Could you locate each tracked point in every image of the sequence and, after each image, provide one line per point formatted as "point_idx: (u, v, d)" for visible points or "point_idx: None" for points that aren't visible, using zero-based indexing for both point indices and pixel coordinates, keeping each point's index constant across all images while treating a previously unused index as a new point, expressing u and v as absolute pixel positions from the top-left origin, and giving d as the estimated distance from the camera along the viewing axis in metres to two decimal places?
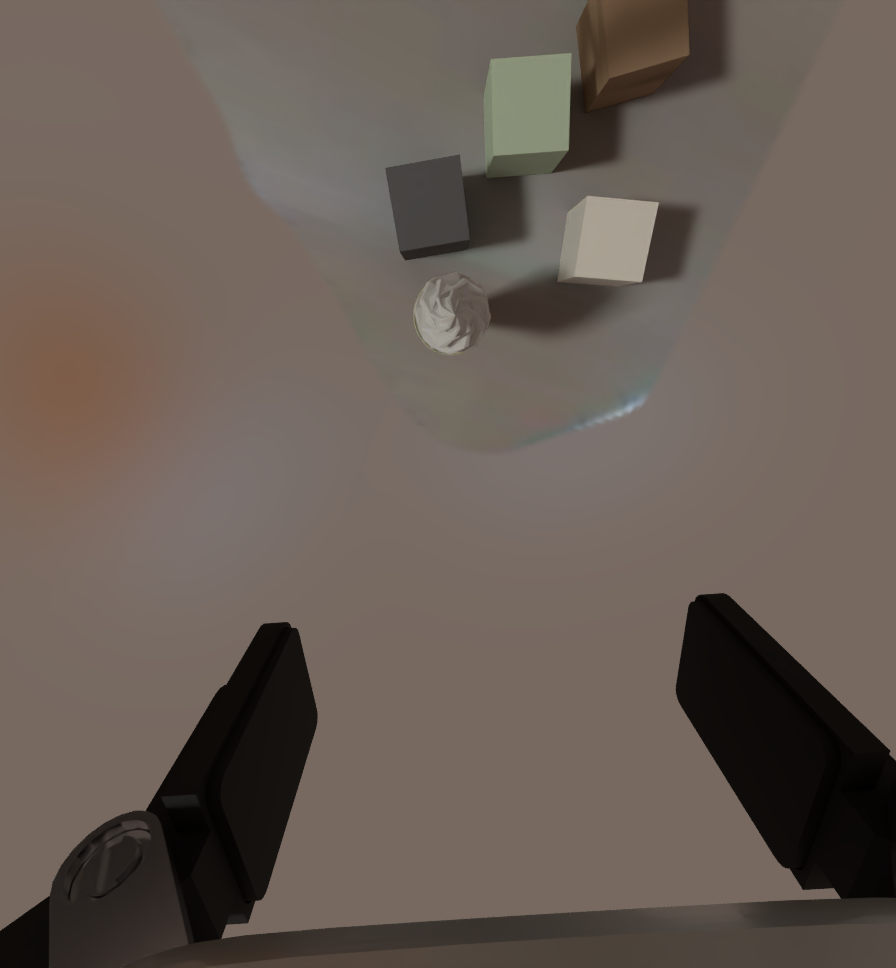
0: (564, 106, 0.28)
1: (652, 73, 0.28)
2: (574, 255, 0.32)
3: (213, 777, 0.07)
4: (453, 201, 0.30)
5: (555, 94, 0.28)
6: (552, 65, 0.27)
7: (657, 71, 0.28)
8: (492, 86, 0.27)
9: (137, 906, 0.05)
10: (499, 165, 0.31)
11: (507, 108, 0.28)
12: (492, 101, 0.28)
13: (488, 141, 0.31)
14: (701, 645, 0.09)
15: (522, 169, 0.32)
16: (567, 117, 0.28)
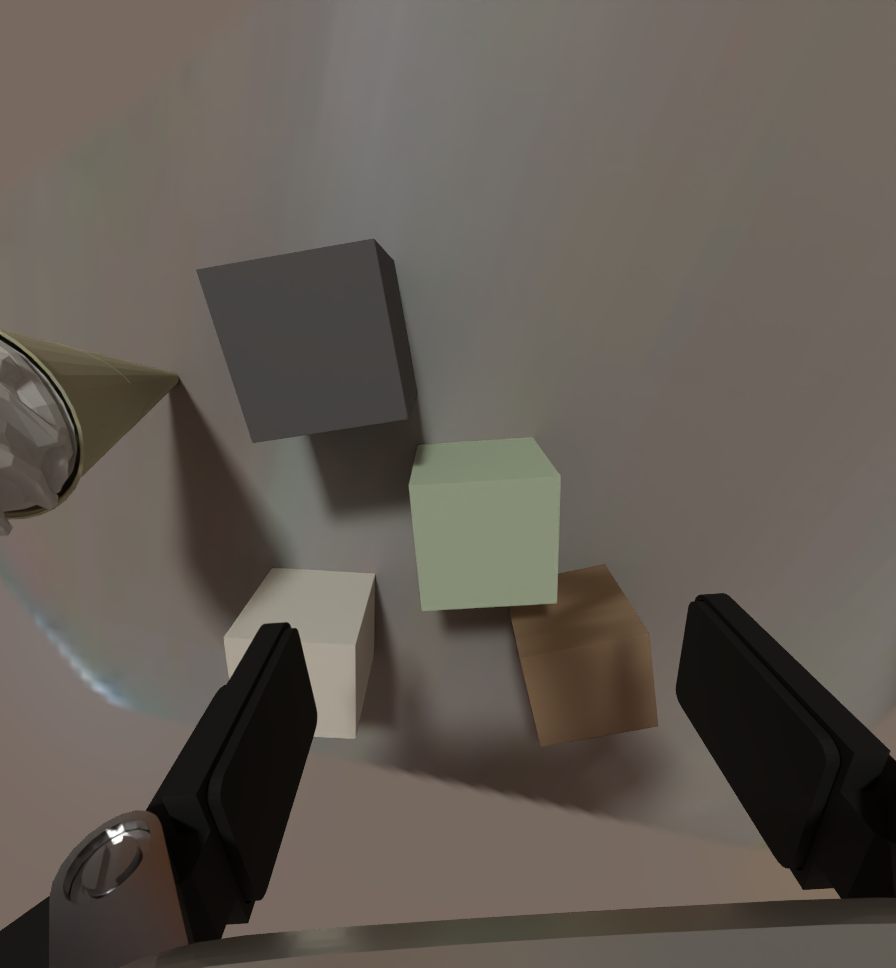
0: (485, 599, 0.16)
1: None
2: None
3: (213, 777, 0.07)
4: (321, 406, 0.13)
5: (501, 584, 0.16)
6: (543, 577, 0.16)
7: None
8: (519, 480, 0.14)
9: (137, 906, 0.05)
10: None
11: (484, 507, 0.15)
12: (496, 480, 0.14)
13: (455, 458, 0.17)
14: (701, 645, 0.09)
15: None
16: (468, 605, 0.16)
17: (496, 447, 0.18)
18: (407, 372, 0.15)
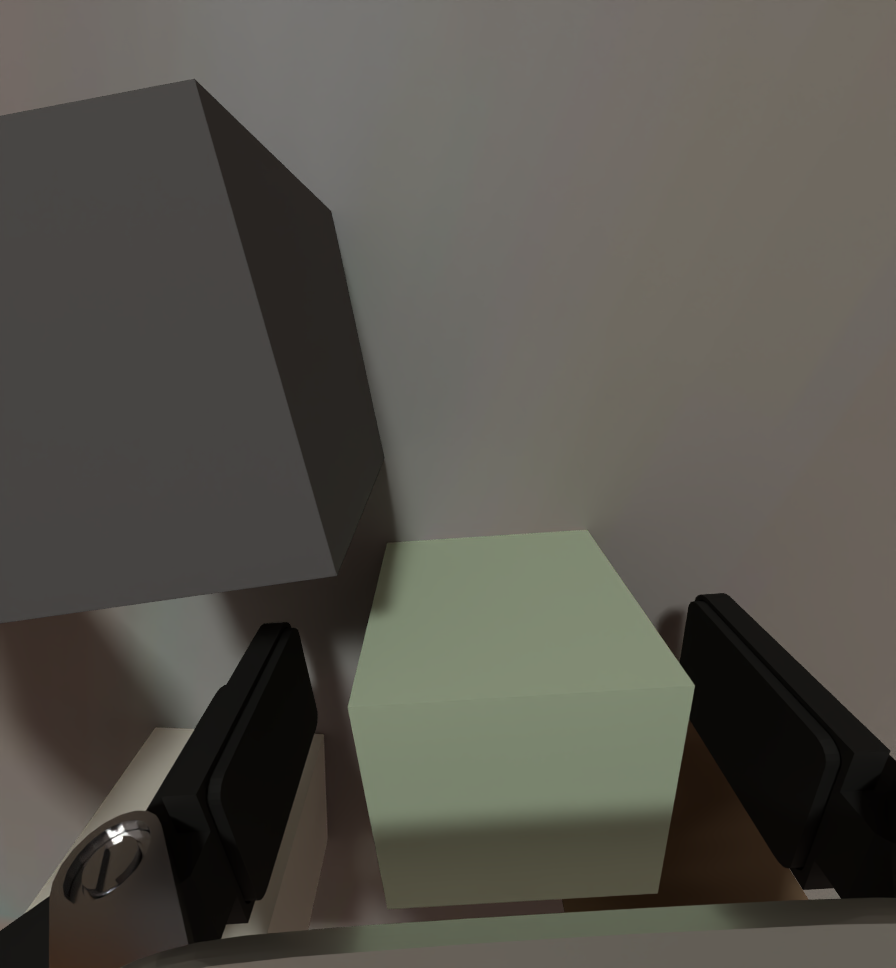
0: (514, 890, 0.08)
1: None
2: None
3: (213, 777, 0.07)
4: (116, 549, 0.05)
5: (549, 868, 0.08)
6: (634, 855, 0.08)
7: None
8: (600, 693, 0.06)
9: (137, 906, 0.05)
10: None
11: (519, 744, 0.07)
12: (548, 692, 0.06)
13: (453, 593, 0.09)
14: (701, 645, 0.09)
15: None
16: (481, 899, 0.08)
17: (527, 558, 0.10)
18: (352, 438, 0.07)
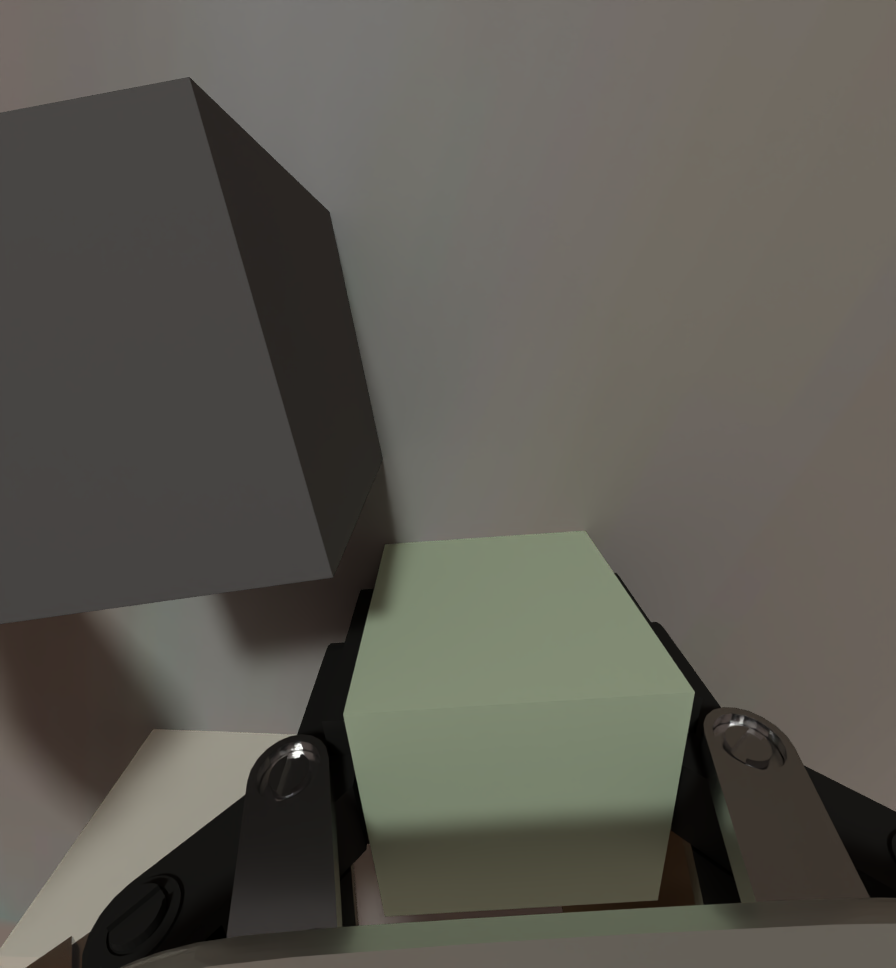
0: (512, 897, 0.08)
1: None
2: (106, 899, 0.09)
3: None
4: (110, 550, 0.05)
5: (548, 875, 0.08)
6: (633, 862, 0.08)
7: None
8: (599, 700, 0.06)
9: (302, 822, 0.06)
10: None
11: (517, 752, 0.07)
12: (546, 699, 0.06)
13: (451, 597, 0.09)
14: None
15: None
16: (479, 906, 0.08)
17: (526, 561, 0.10)
18: (349, 439, 0.07)
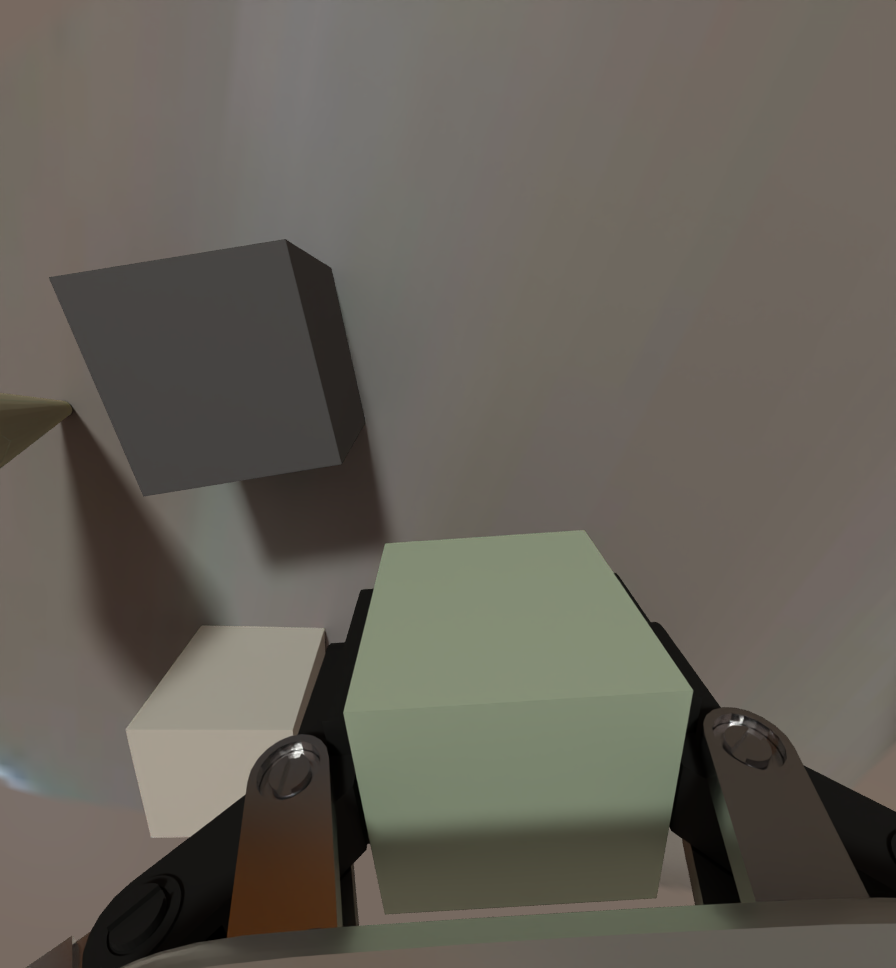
0: (512, 895, 0.08)
1: None
2: (190, 705, 0.14)
3: None
4: (229, 449, 0.11)
5: (547, 872, 0.08)
6: (632, 860, 0.08)
7: None
8: (598, 698, 0.06)
9: (302, 822, 0.06)
10: None
11: (516, 749, 0.07)
12: (545, 697, 0.06)
13: (450, 596, 0.09)
14: None
15: None
16: (479, 903, 0.08)
17: (525, 560, 0.10)
18: (346, 402, 0.13)
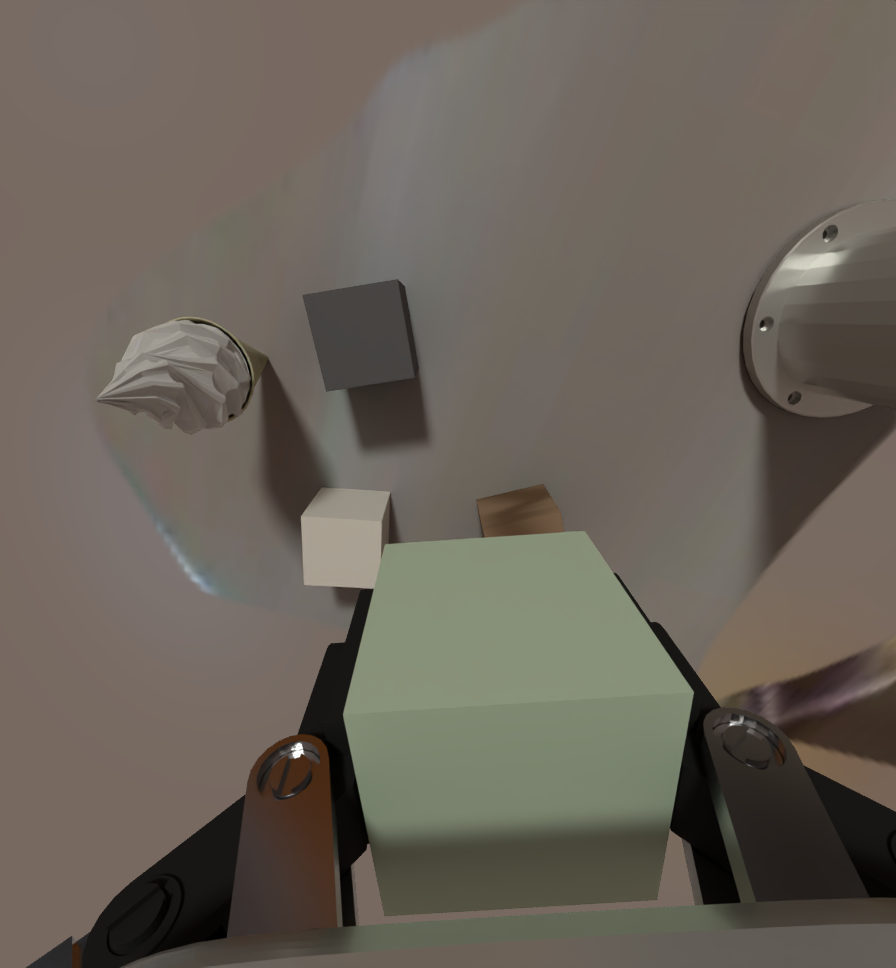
0: (512, 897, 0.08)
1: None
2: (328, 511, 0.28)
3: None
4: (366, 370, 0.24)
5: (547, 874, 0.08)
6: (633, 862, 0.08)
7: None
8: (598, 700, 0.06)
9: (302, 822, 0.06)
10: None
11: (517, 751, 0.07)
12: (545, 699, 0.06)
13: (450, 598, 0.09)
14: None
15: None
16: (478, 905, 0.08)
17: (526, 561, 0.10)
18: (413, 353, 0.26)
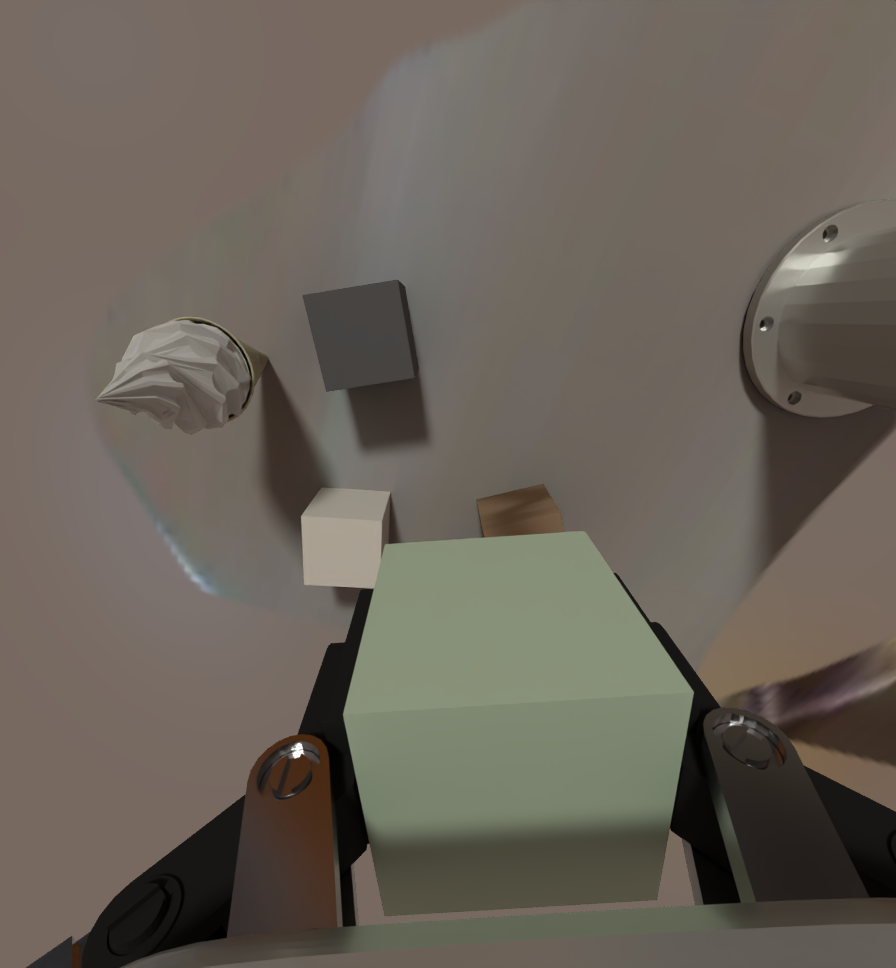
0: (512, 897, 0.08)
1: None
2: (328, 511, 0.28)
3: None
4: (366, 370, 0.24)
5: (547, 875, 0.08)
6: (633, 862, 0.08)
7: None
8: (598, 700, 0.06)
9: (302, 822, 0.06)
10: None
11: (517, 752, 0.07)
12: (545, 699, 0.06)
13: (450, 598, 0.09)
14: None
15: None
16: (478, 905, 0.08)
17: (525, 561, 0.10)
18: (413, 353, 0.26)
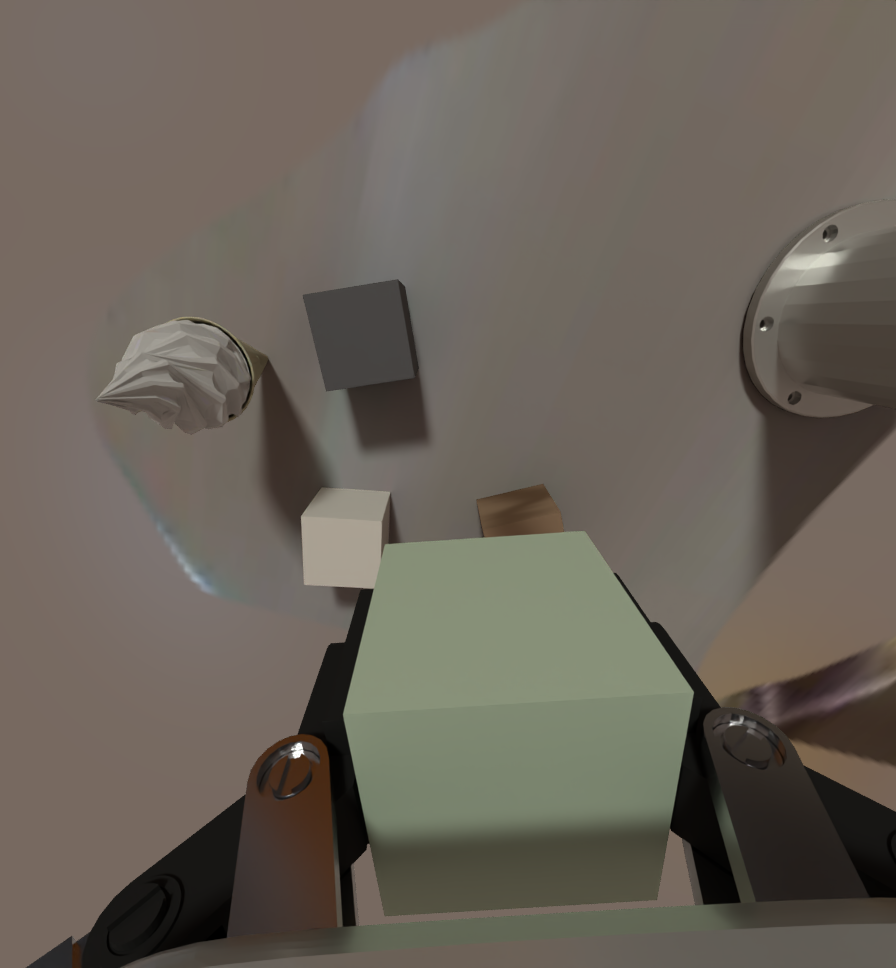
0: (512, 897, 0.08)
1: None
2: (328, 511, 0.28)
3: None
4: (366, 370, 0.24)
5: (547, 875, 0.08)
6: (633, 862, 0.08)
7: None
8: (598, 700, 0.06)
9: (302, 822, 0.06)
10: None
11: (517, 752, 0.07)
12: (545, 699, 0.06)
13: (450, 598, 0.09)
14: None
15: None
16: (478, 905, 0.08)
17: (525, 561, 0.10)
18: (413, 353, 0.26)
